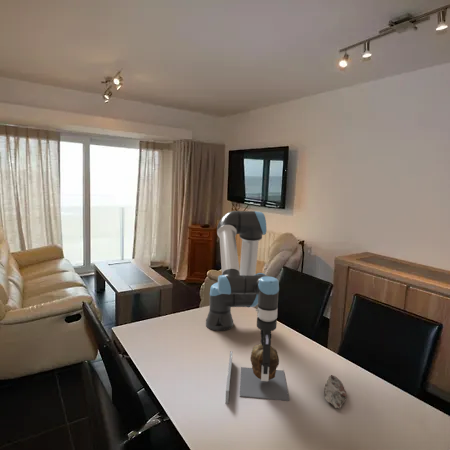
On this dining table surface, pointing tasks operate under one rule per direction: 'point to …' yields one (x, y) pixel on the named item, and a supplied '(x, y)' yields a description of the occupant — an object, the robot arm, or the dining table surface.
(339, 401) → the mineral rock
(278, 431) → the dining table surface
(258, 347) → the ribbed globe cactus
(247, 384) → the rest mat
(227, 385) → the acrylic wall
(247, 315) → the dining table surface
